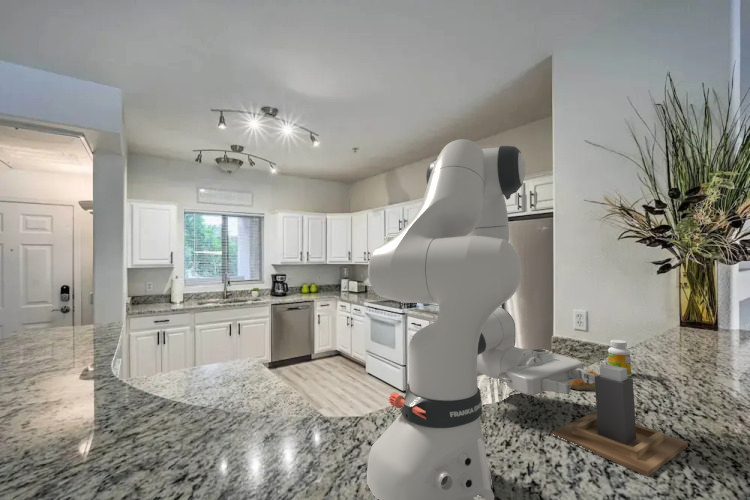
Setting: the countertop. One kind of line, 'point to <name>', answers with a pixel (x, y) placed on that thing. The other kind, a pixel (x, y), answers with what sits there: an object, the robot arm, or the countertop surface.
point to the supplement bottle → (619, 355)
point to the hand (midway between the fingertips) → (581, 384)
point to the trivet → (637, 455)
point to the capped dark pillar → (615, 404)
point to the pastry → (583, 383)
